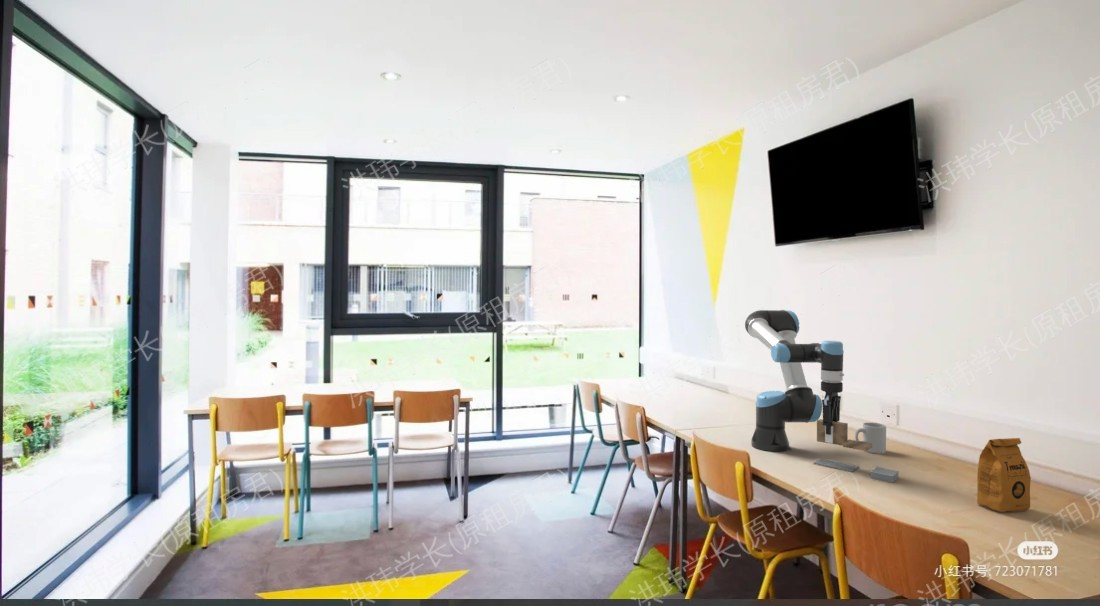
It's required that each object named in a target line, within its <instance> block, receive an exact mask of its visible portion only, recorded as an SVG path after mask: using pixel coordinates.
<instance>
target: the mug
mask: <svg viewBox="0 0 1100 606" xmlns="http://www.w3.org/2000/svg"><path fill="white" fill-rule="evenodd" d="M860 433H862V440H861V441H862V442H868V443H872V448H870V449H869V450H867V451H865V452H867V453H870V454H874V455H875V454H878V455H880V454H883V455H884V454H886V453H887V425H885V424H883V423H877V422H864V423H863V424H862V427H859V428H857V429H856V431H855V433H854V434H855V435H854V437H855V439H854V440H856V441H860V440H859V434H860Z"/></svg>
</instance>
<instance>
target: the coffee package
mask: <svg viewBox="0 0 1100 606" xmlns="http://www.w3.org/2000/svg"><path fill="white" fill-rule="evenodd" d="M1021 444H1022V441H1021V438H1019V437H1016V438H1015V437H1012V438H1010V437H1009V438H994V439H993V438H991V439H989V440H988V442H987V443H986V444H985V445H984V448H983V449H982V451H981V453H980V454H979V458H978V464H977V465H978V466H977V475H976V476H977V480H976V481H977V485H976V486H977V491H976V493H977V497H976V498H977V501H976V502H977V505H978V506H981V507H982V506H983V507H985V508H989V509H991V510H993V511H997V512H1000V513H1003V512H1024V511H1025V510H1027V511H1029V509H1030V508H1031V481H1032V480H1031V473H1030V469H1029V467H1028V464H1027V462H1026V460H1025V458H1024V457H1023V454H1022V451H1021V449H1020V447H1019V446H1018V445H1021ZM1025 512H1026V511H1025Z"/></svg>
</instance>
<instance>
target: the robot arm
mask: <svg viewBox="0 0 1100 606" xmlns="http://www.w3.org/2000/svg"><path fill="white" fill-rule="evenodd" d="M744 326H745V327H744V329H745V331H746V332H747V334H748V335H750V336H751V337H752V338H755V339H757V340H759V342H760V343H762V344H763V345H764V346H765V347H766V348H767V349H769V350H770V355H771V358H772V360H773V362H775V363H779V365H780V369H781V372H782V377H783V381H784V386H785V388H786V390H785V391H781V390H767V391H763V392H760V393H759V394H757V396H756V401H755V429H754V432H753V435H752V438H751V440H750V441H751V447H753V448H755V449H758V450H763V451H768V452H785V451H788V450H789V449H790V441H789V439H788V435H787V432H786V423H806V424H807V423H816V422H817V421H818V420H820V418H821V416H822V420H823V425H825V442H827V443H826V444H830V443H833V426H832V422H833V421H835V422H840V421H841V419H840V418H841V417H840V416H841V415H840V414H841V413H840V412H841V399H842V396H841V395H839V393H842V392H843V388H844V387H843V385H844V383H843V380H844V378H843V377H844V376H845V374H844V373H843V372H844V346H843V345H844V344H843V342H842V341H838V340H823V341H822V342H821V343H819V342H812V343H796V340H795V339H796V337H797V336H798V333H799V331H800V321H799V318H798V316H797V314H796V313H795V312H794V311H792V310H787V309H786V310H785V309H780V310H778V309H776V310H774V309H773V310H770V309H769V310H768V309H764V310H763V309H759V310H756V311H753V312H752V313H750V314H749V315H748V316H747V317H746V319H745V322H744ZM802 363H808V364H809V363H812V364H813V363H819V364H820V365H821V367H820V380H821V381H820V390H821V392H825V395H824V399H821V397H820V396H819V395H818V394H814V392H813V389H812V388H811V387H810V386H808V384H807V383H808V382H807V380H806V376H805V373H804V372H805V371H804V369H803V366H802Z"/></svg>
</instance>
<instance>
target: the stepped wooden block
mask: <svg viewBox="0 0 1100 606" xmlns="http://www.w3.org/2000/svg"><path fill="white" fill-rule="evenodd" d="M832 426H833V443H829V444H830V445H837V446H842V447H843V448H846V449H847V448H848V449H853V450H859V451H864V452H866V451H867V450H869V449H870V448H872V443H868V442H862V441H863V440H859V441H856V440H855V439H848V437H849V436H848V434H849V433H848V432H849V431H848V422H840V421H838V422H835V421H833V422H832ZM816 442H819V443H825V444H828V443H827V442H825V425H823V419H820V418H819V419H818V420H817V421H816Z"/></svg>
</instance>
